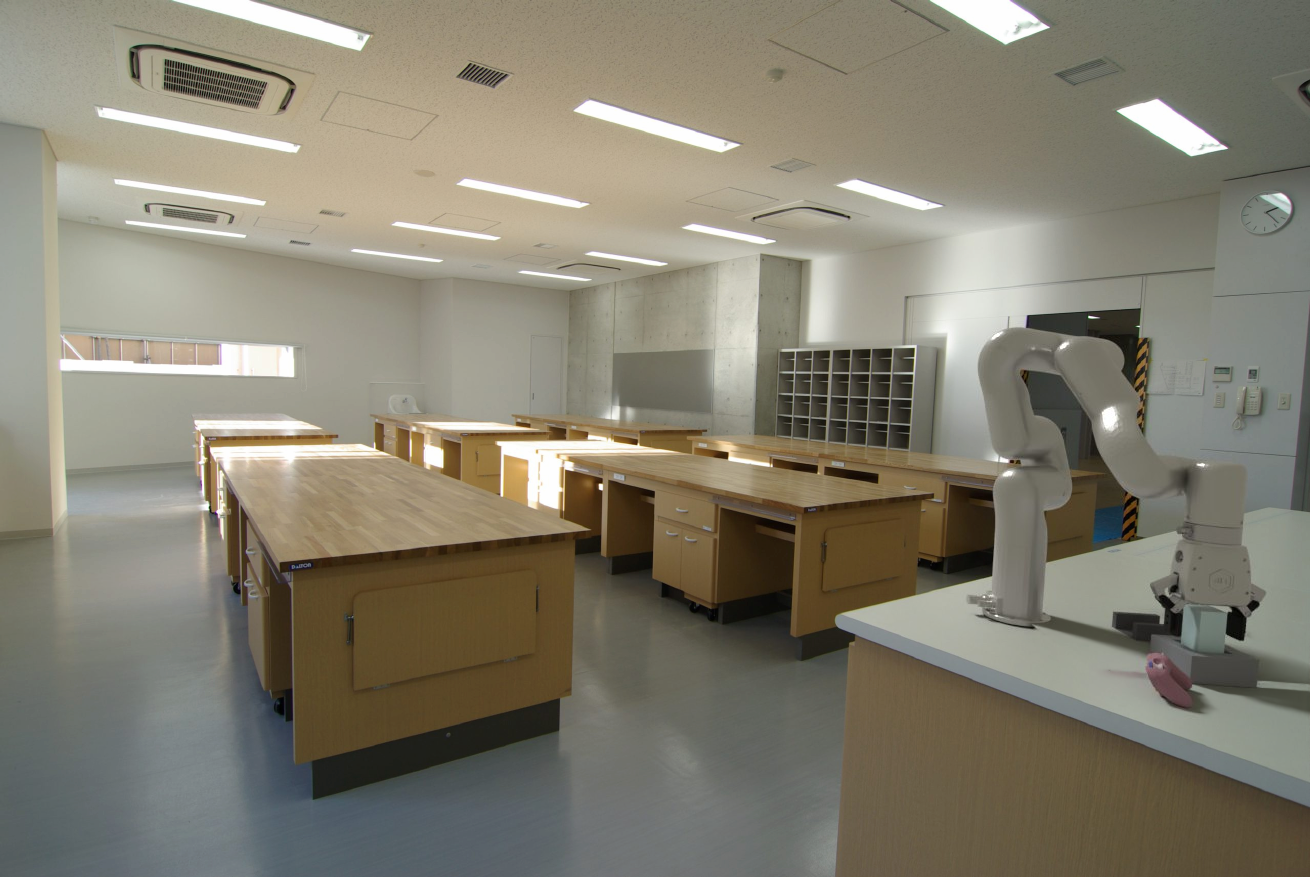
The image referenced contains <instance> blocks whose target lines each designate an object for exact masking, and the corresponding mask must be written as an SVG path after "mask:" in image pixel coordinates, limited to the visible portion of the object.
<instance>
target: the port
mask: <svg viewBox="0 0 1310 877" xmlns="http://www.w3.org/2000/svg"><path fill="white" fill-rule="evenodd" d="M1149 647H1150V648H1149V654H1151V653H1159V654H1162V653H1164V655H1165V656H1167V657H1168V658H1169V659H1170V660H1171V661H1172V662H1173V663H1174V664H1175V665H1176V666H1177V667H1178V668H1179V669H1180V670H1181V671H1183V672H1184V673H1185V674H1186V675H1187V676H1188V677H1189V678H1190V680H1191V682H1192V684H1194V685H1210V686H1211V685H1212V686H1224V687H1227V686H1228V687H1238V688H1239V687H1241V688H1253V689H1257V688H1258V677H1259V667H1260V666H1259V665H1260V660H1259V659H1257V658H1255V657H1253V656H1251V655H1249V654H1247V653H1244V652H1242V651H1241V650H1238V649H1236V648H1235V647H1232V646H1229V645H1227V644H1226V643H1225V646H1224V653H1209V652H1196V651H1194V650H1193V649H1191V648H1189V647H1187V646H1185V645H1183V644H1181V636H1180V637H1175V636H1170V635H1155V634H1151V642H1150V646H1149Z"/></svg>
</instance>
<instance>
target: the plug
mask: <svg viewBox="0 0 1310 877" xmlns="http://www.w3.org/2000/svg"><path fill="white" fill-rule="evenodd" d="M1227 613H1228V612H1226V611H1223V610H1221V609H1219V608H1216V607H1215V606H1211V605H1192V604H1187V605H1185V606H1184V611H1183V623H1182V635H1181V644H1183V645H1185V646H1187V647H1189V648H1191V649H1193V650H1194V651H1196V652H1209V653H1224V646H1225V644H1226V636H1227V635H1226V623H1227Z"/></svg>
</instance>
